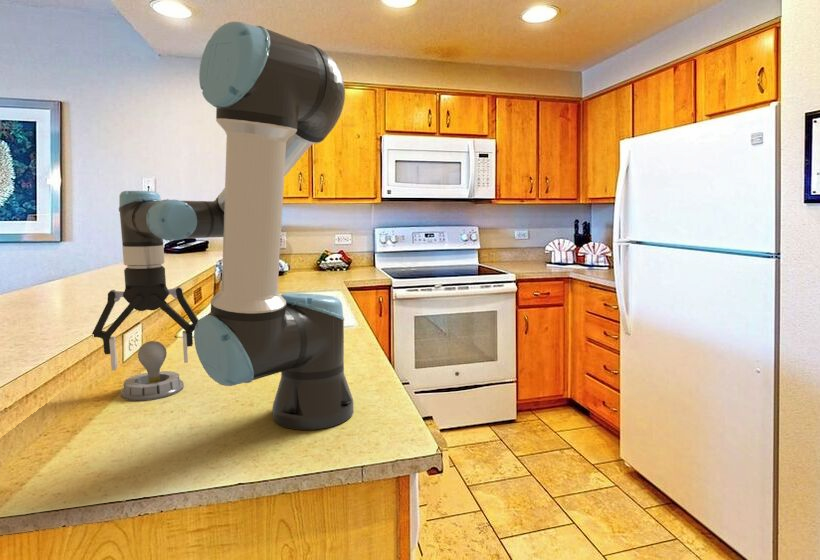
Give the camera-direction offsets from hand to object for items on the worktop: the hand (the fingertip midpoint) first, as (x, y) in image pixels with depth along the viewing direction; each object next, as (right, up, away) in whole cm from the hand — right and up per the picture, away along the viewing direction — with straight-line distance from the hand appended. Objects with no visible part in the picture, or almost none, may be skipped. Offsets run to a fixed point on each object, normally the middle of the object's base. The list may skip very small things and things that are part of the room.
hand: (151, 364), depth 106 cm
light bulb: (0, -5, +1) cm, 5 cm away
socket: (0, -6, +1) cm, 6 cm away
